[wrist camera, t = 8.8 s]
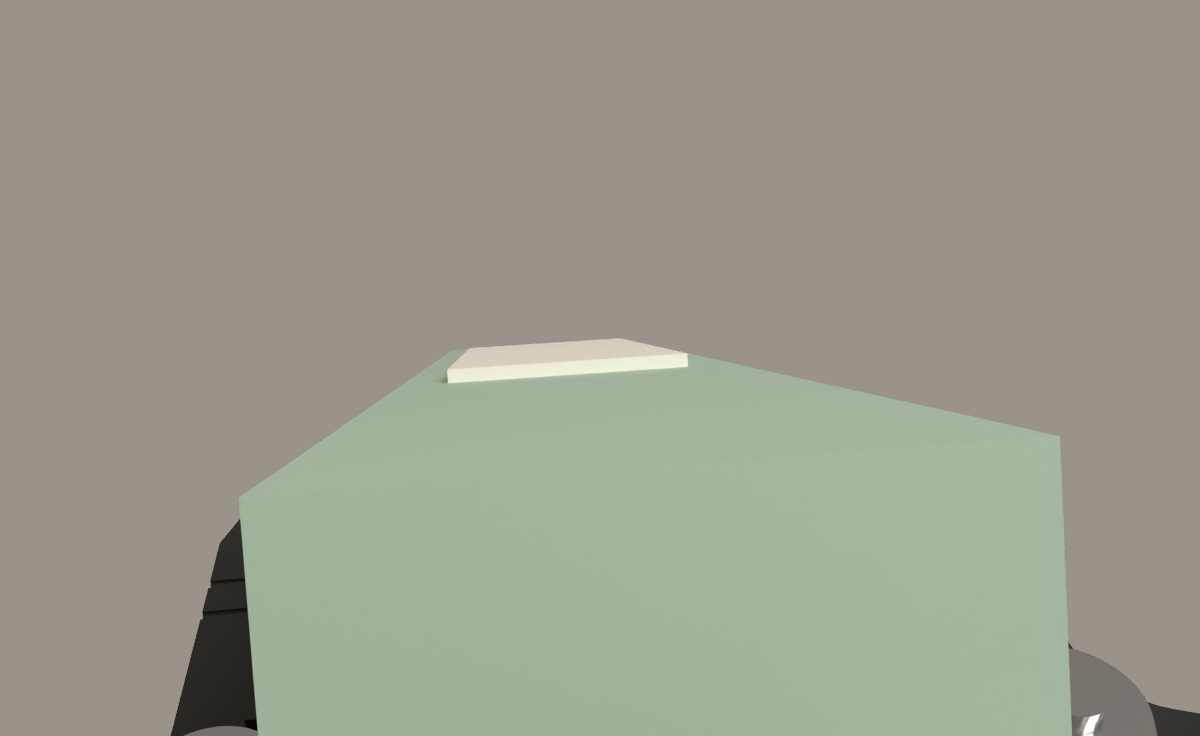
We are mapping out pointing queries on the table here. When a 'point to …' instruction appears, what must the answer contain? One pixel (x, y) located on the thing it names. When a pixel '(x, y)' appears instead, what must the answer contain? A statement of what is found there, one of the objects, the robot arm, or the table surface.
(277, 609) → the pale green block bar
